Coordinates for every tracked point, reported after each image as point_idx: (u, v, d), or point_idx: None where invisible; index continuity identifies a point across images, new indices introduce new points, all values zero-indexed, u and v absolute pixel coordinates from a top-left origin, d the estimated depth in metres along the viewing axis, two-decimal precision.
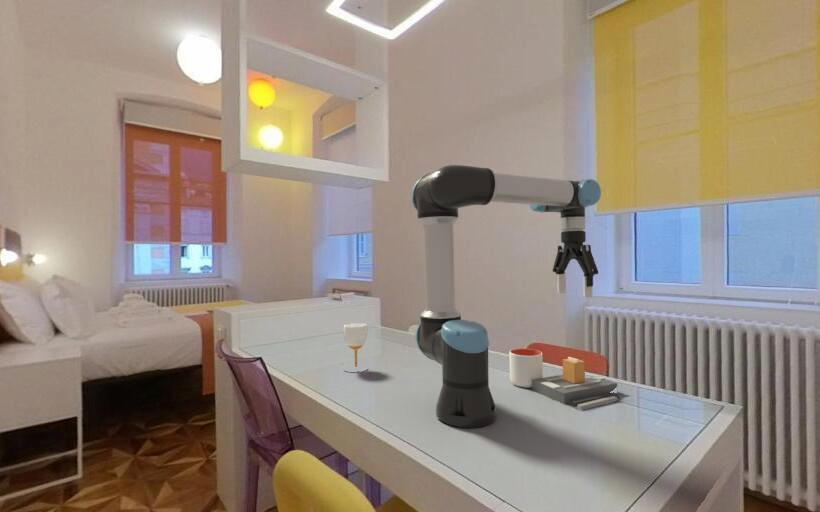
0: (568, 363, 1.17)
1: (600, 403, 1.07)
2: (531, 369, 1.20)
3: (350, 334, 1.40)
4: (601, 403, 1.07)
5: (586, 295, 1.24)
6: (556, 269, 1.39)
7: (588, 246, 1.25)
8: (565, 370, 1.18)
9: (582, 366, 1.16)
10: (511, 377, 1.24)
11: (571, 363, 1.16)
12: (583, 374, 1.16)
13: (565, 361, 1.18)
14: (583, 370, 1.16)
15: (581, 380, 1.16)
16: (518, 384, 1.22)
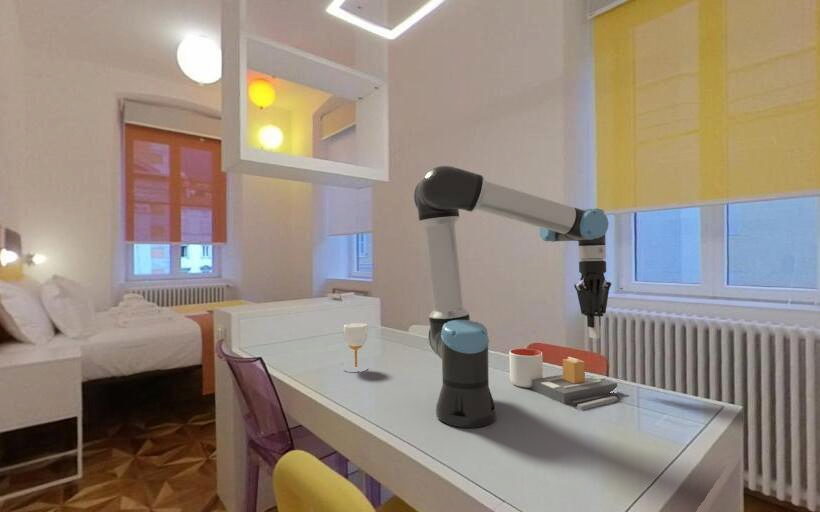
0: (568, 363, 1.17)
1: (600, 403, 1.07)
2: (531, 369, 1.20)
3: (350, 334, 1.40)
4: (601, 403, 1.07)
5: (590, 335, 1.21)
6: (597, 310, 1.22)
7: (578, 287, 1.18)
8: (565, 370, 1.18)
9: (582, 366, 1.16)
10: (511, 377, 1.24)
11: (571, 363, 1.16)
12: (583, 374, 1.16)
13: (565, 361, 1.18)
14: (583, 370, 1.16)
15: (581, 380, 1.16)
16: (518, 384, 1.22)
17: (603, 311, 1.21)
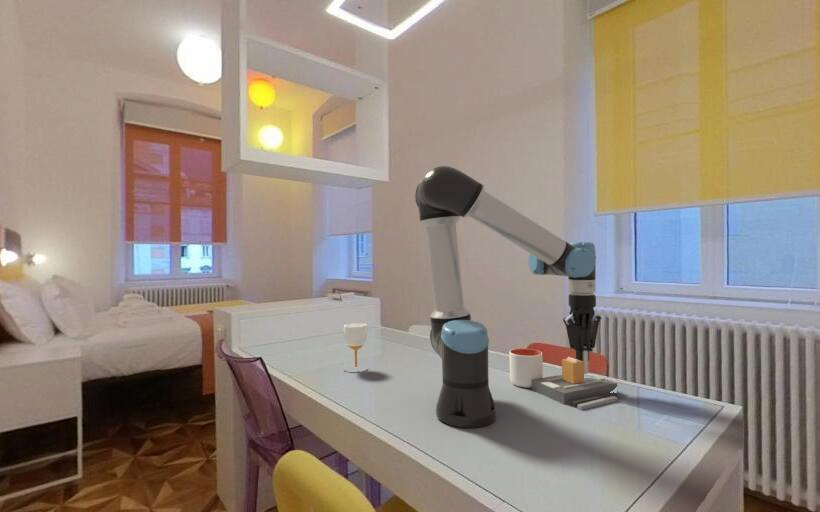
0: (567, 363, 1.16)
1: (600, 403, 1.07)
2: (531, 369, 1.20)
3: (350, 334, 1.40)
4: (601, 403, 1.07)
5: None
6: None
7: (567, 321, 1.16)
8: (564, 370, 1.18)
9: (581, 366, 1.16)
10: (511, 377, 1.24)
11: (570, 363, 1.15)
12: (582, 374, 1.16)
13: (564, 361, 1.18)
14: (582, 370, 1.16)
15: (580, 380, 1.16)
16: (518, 384, 1.22)
17: (592, 346, 1.19)
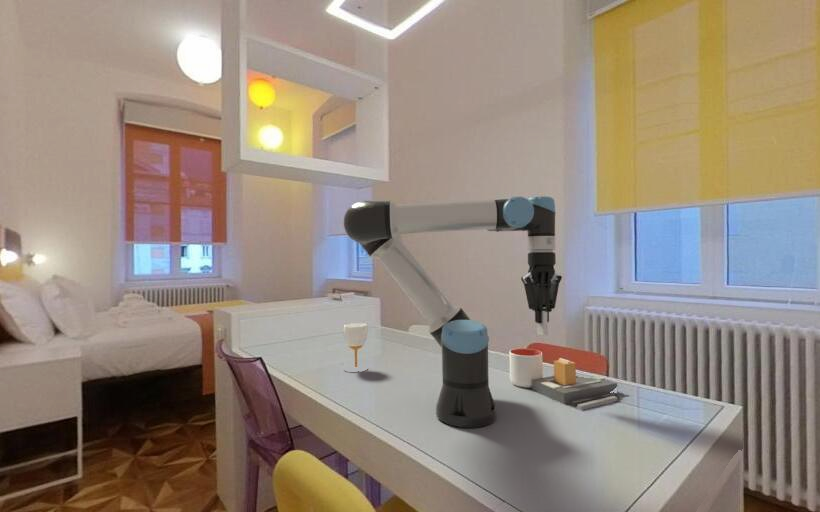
0: (559, 364, 1.15)
1: (600, 403, 1.07)
2: (531, 369, 1.20)
3: (350, 334, 1.40)
4: (601, 403, 1.07)
5: (538, 332, 1.14)
6: (546, 305, 1.15)
7: (525, 280, 1.10)
8: (556, 372, 1.16)
9: (573, 367, 1.15)
10: (511, 377, 1.24)
11: (562, 364, 1.14)
12: (574, 376, 1.15)
13: (556, 362, 1.16)
14: (574, 371, 1.15)
15: (572, 382, 1.14)
16: (518, 384, 1.22)
17: (552, 306, 1.13)
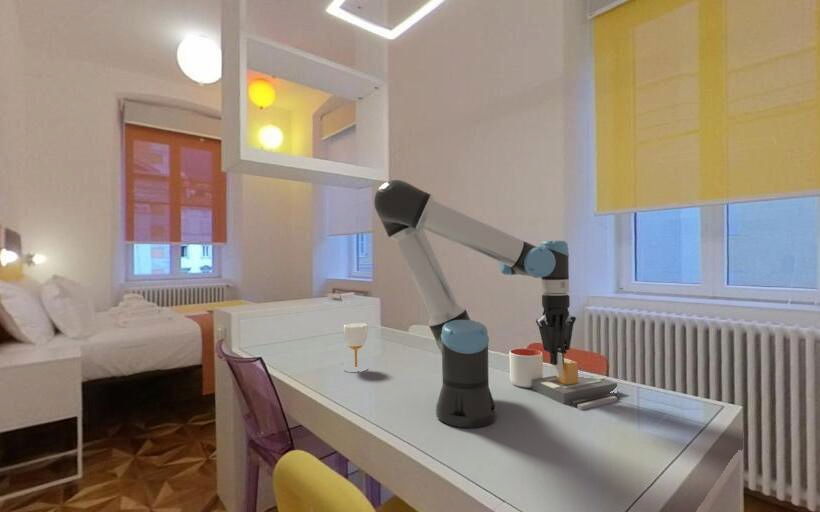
0: None
1: (600, 403, 1.07)
2: (531, 369, 1.20)
3: (350, 334, 1.40)
4: (601, 403, 1.07)
5: (553, 373, 1.15)
6: None
7: (540, 323, 1.12)
8: None
9: (575, 367, 1.15)
10: (511, 377, 1.24)
11: (564, 364, 1.15)
12: (576, 375, 1.15)
13: None
14: (576, 371, 1.15)
15: (574, 381, 1.15)
16: (518, 384, 1.22)
17: (567, 347, 1.15)
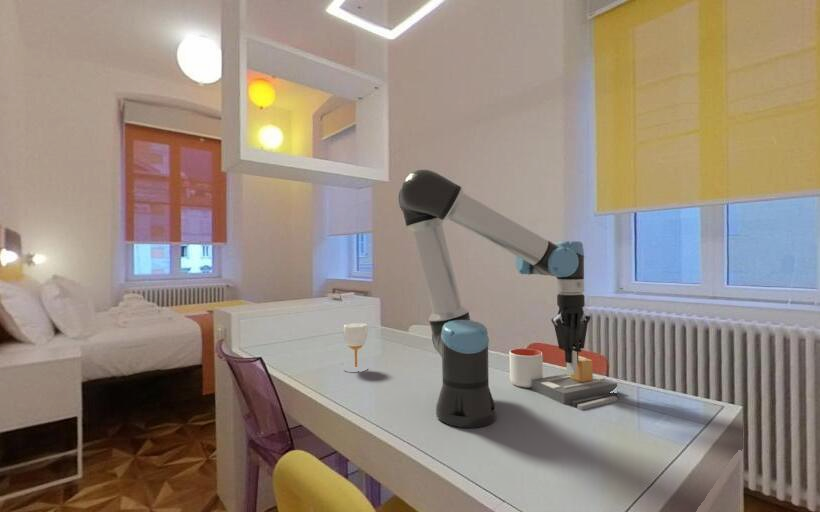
0: None
1: (600, 403, 1.07)
2: (531, 369, 1.20)
3: (350, 334, 1.40)
4: (601, 403, 1.07)
5: (568, 371, 1.18)
6: None
7: (555, 322, 1.14)
8: None
9: (590, 365, 1.17)
10: (511, 377, 1.24)
11: (579, 362, 1.17)
12: (591, 373, 1.17)
13: None
14: (591, 369, 1.17)
15: (589, 379, 1.17)
16: (518, 384, 1.22)
17: (581, 346, 1.17)
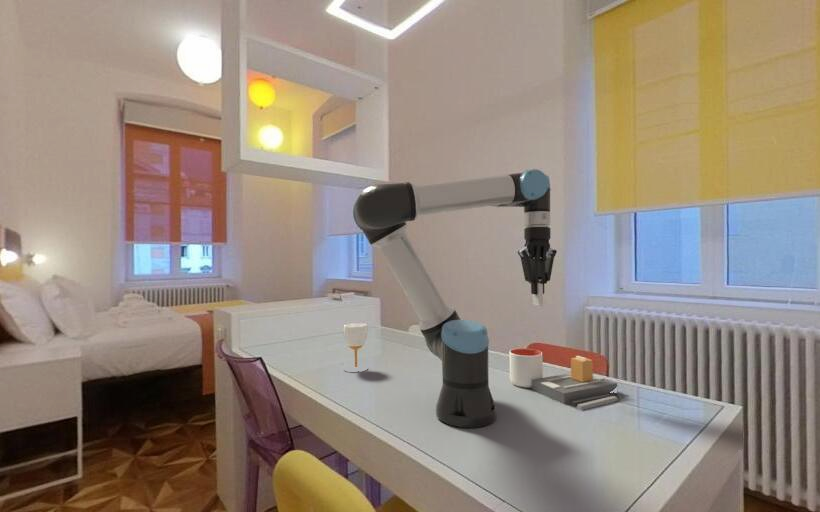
0: (576, 362, 1.18)
1: (600, 403, 1.07)
2: (531, 369, 1.20)
3: (350, 334, 1.40)
4: (601, 403, 1.07)
5: (534, 303, 1.20)
6: None
7: (521, 253, 1.17)
8: (573, 369, 1.19)
9: (590, 365, 1.17)
10: (511, 377, 1.24)
11: (579, 362, 1.17)
12: (591, 373, 1.17)
13: (573, 360, 1.19)
14: (591, 369, 1.17)
15: (589, 379, 1.17)
16: (518, 384, 1.22)
17: (547, 278, 1.19)
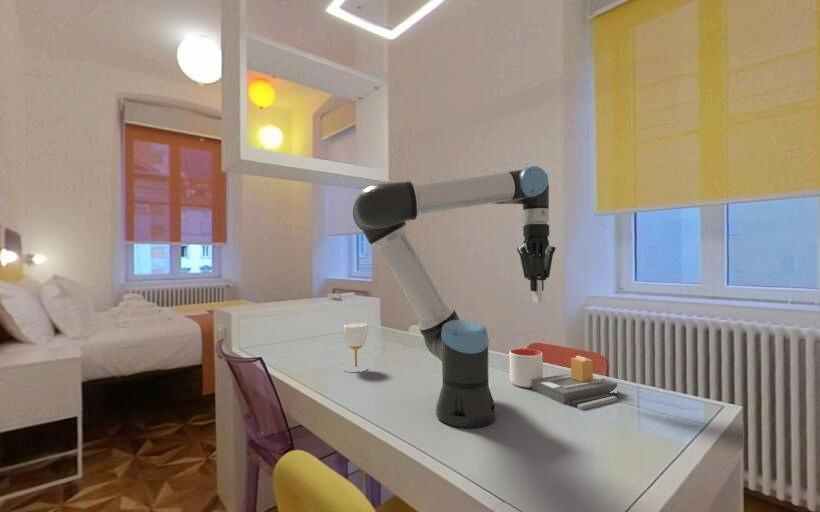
0: (576, 362, 1.18)
1: (600, 403, 1.07)
2: (531, 369, 1.20)
3: (350, 334, 1.40)
4: (601, 403, 1.07)
5: (533, 300, 1.20)
6: None
7: (520, 250, 1.17)
8: (573, 369, 1.19)
9: (590, 365, 1.17)
10: (511, 377, 1.24)
11: (579, 362, 1.17)
12: (591, 373, 1.17)
13: (573, 360, 1.19)
14: (591, 369, 1.17)
15: (589, 379, 1.17)
16: (518, 384, 1.22)
17: (546, 275, 1.20)
